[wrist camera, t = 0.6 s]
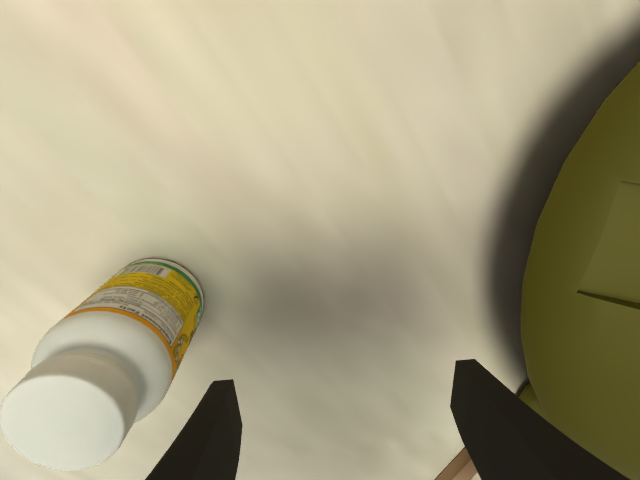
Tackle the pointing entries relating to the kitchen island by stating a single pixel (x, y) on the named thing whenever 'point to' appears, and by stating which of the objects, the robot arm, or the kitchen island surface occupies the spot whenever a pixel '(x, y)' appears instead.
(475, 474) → the board
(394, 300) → the kitchen island surface
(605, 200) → the green turtle
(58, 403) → the supplement bottle
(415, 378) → the kitchen island surface
